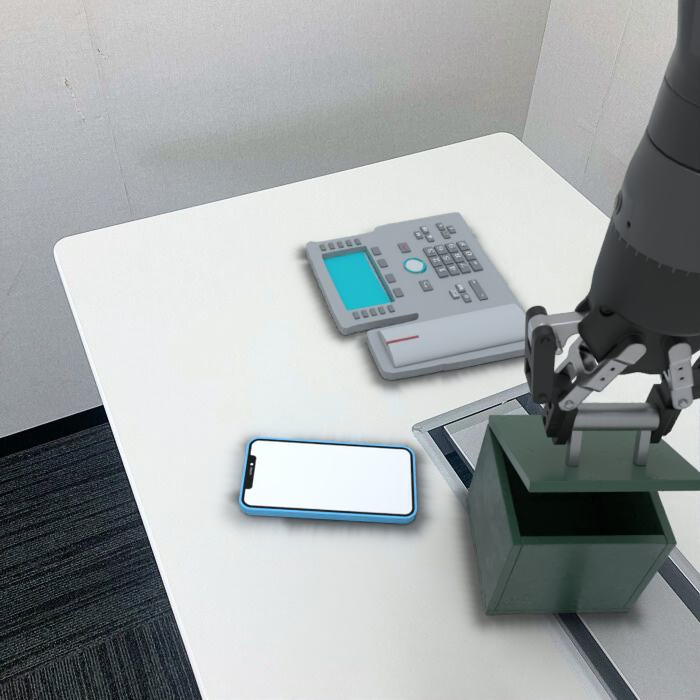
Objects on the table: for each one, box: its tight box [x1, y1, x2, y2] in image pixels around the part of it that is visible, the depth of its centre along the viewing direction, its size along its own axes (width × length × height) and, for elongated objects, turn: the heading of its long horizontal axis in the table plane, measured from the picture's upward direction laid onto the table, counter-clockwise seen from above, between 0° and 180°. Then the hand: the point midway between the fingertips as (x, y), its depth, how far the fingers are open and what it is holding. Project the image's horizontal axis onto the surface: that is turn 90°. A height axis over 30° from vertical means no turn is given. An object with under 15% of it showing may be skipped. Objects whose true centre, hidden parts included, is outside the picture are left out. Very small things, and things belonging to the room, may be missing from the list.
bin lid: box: [487, 402, 700, 492], centre depth 52 cm, size 11×11×5 cm
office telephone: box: [305, 211, 527, 381], centre depth 83 cm, size 23×3×20 cm
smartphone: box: [238, 436, 418, 525], centre depth 66 cm, size 8×1×15 cm
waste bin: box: [465, 423, 678, 615], centre depth 58 cm, size 10×11×11 cm
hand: (601, 433), depth 50 cm, fingers closed on bin lid, 5 cm apart
